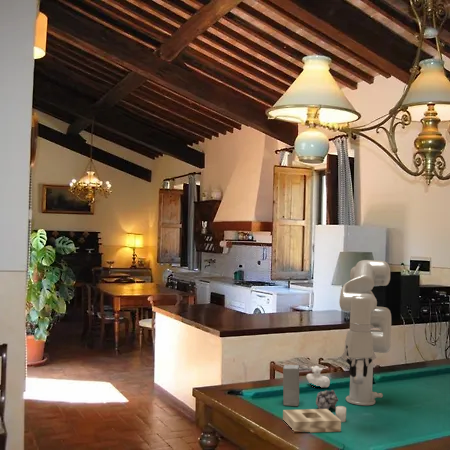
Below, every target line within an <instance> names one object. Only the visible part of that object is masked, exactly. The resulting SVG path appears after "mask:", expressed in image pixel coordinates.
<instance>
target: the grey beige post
mask: <svg viewBox="0 0 450 450" xmlns="http://www.w3.org/2000/svg"><path fill="white" fill-rule="evenodd" d="M354 366H355V377H353V383H354V384H363V380H364V359H360V358H356V359H355V364H354Z"/></svg>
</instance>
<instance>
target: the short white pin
mask: <svg viewBox="0 0 450 450" xmlns="http://www.w3.org/2000/svg"><path fill="white" fill-rule="evenodd" d="M335 407H336V408H335V416H336V417H337V418H339V419H340V420H341V423H345V422H346V421H347V407H346V406H343V405H337V406H336V405H335Z"/></svg>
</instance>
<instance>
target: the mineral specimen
mask: <svg viewBox="0 0 450 450" xmlns="http://www.w3.org/2000/svg"><path fill="white" fill-rule="evenodd" d="M316 394H317V395H316V399H315V405H316V406H317V409H328V410H329V409H333V410H336V404H337V402H339V398H338V396H337V394H336V392H335V390H334V389H331V390H327V389H326V390H324V391H321V390H320V392H318V393H316Z"/></svg>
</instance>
